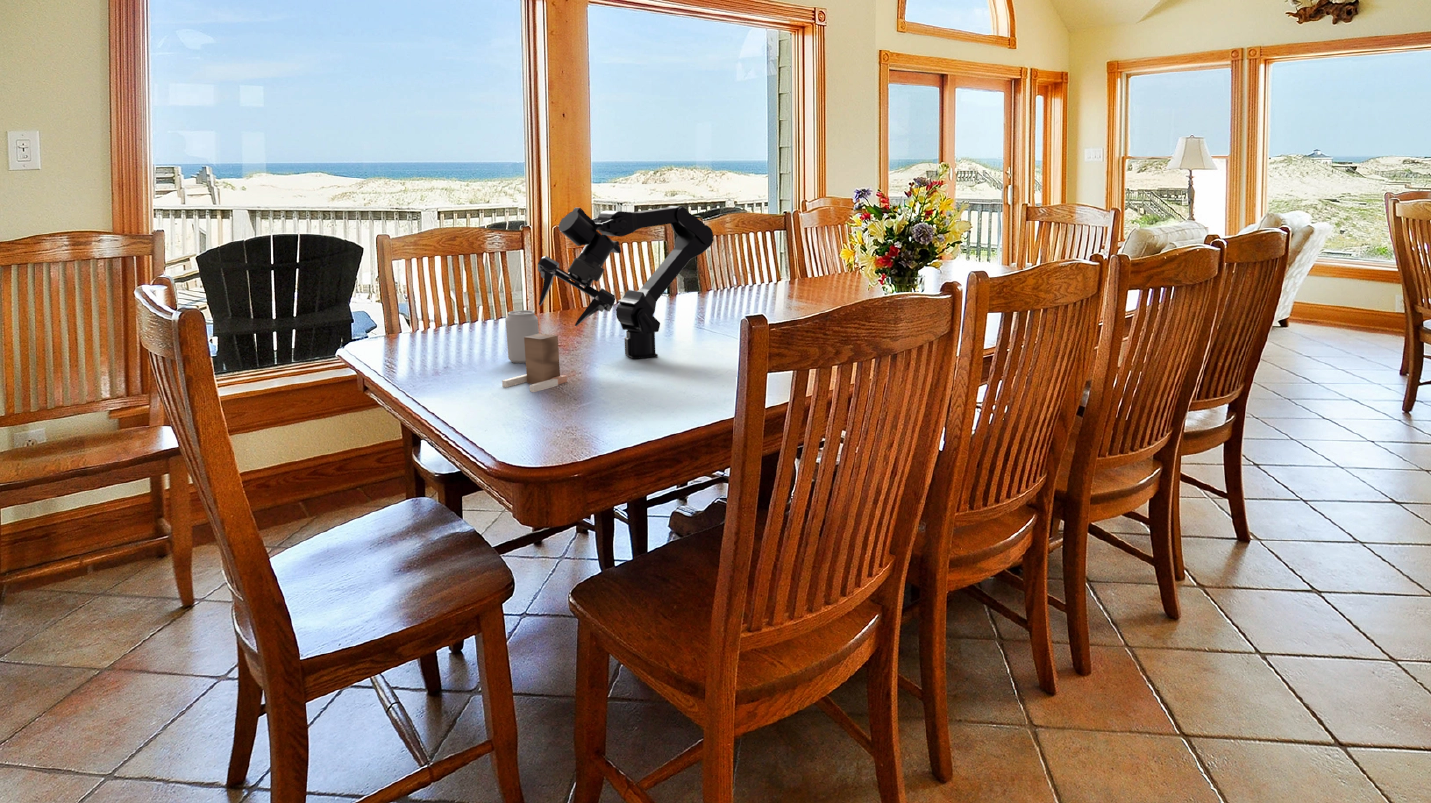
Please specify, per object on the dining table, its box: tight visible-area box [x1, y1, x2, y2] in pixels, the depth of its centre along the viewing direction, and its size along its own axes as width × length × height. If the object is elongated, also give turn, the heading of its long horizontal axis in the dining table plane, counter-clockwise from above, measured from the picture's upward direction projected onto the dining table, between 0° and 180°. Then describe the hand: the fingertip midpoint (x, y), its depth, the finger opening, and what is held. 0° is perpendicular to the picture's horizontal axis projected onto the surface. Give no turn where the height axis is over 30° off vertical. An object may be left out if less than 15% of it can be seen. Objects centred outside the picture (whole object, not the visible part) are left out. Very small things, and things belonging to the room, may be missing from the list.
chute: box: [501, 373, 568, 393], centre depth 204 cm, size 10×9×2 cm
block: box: [524, 333, 561, 385], centre depth 205 cm, size 5×5×10 cm
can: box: [505, 309, 540, 364], centre depth 227 cm, size 8×8×12 cm
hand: (557, 315), depth 215 cm, fingers open, 9 cm apart
